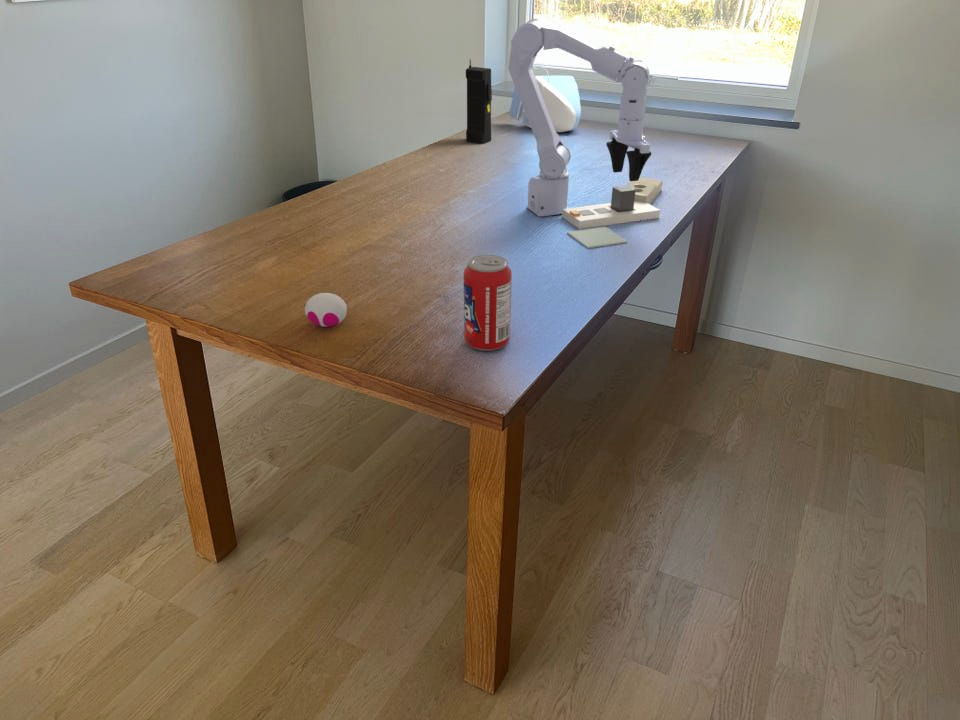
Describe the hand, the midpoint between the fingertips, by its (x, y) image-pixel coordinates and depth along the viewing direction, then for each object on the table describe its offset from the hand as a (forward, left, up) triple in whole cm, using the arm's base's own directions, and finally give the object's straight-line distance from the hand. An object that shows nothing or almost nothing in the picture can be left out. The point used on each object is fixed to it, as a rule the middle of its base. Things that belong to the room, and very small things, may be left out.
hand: (625, 176), depth 180 cm
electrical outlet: (+12, +11, -11) cm, 19 cm away
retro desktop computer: (+24, +89, -10) cm, 93 cm away
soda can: (-55, -48, -10) cm, 74 cm away
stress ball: (-79, -32, -10) cm, 86 cm away
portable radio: (-6, +80, -10) cm, 81 cm away
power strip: (-3, 0, -10) cm, 10 cm away
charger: (0, 0, -10) cm, 10 cm away
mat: (-13, -11, -10) cm, 20 cm away
